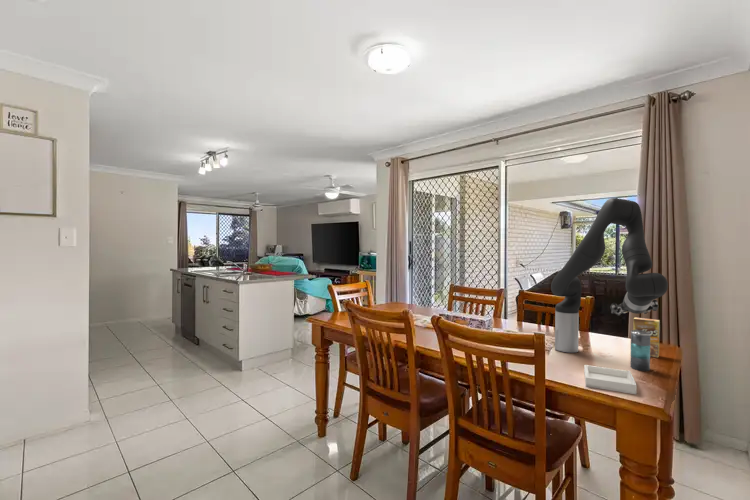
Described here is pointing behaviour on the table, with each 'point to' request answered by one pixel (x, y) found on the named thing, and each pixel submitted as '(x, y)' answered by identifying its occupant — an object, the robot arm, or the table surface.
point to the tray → (609, 379)
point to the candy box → (653, 328)
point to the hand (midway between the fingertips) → (630, 312)
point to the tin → (640, 350)
